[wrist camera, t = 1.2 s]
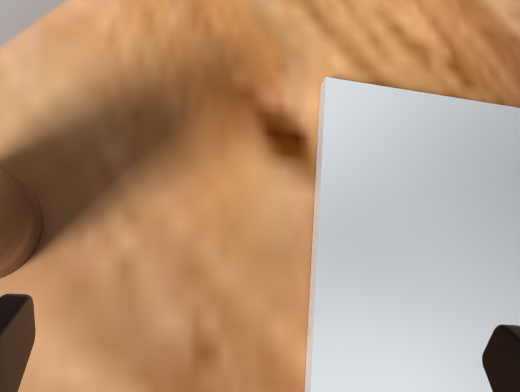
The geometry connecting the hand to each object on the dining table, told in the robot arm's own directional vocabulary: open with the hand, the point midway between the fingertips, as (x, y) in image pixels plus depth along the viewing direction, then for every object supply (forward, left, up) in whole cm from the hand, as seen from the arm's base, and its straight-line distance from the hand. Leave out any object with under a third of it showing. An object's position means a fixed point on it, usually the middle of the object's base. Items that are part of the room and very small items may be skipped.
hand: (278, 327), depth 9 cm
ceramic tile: (+3, -13, -14) cm, 19 cm away
